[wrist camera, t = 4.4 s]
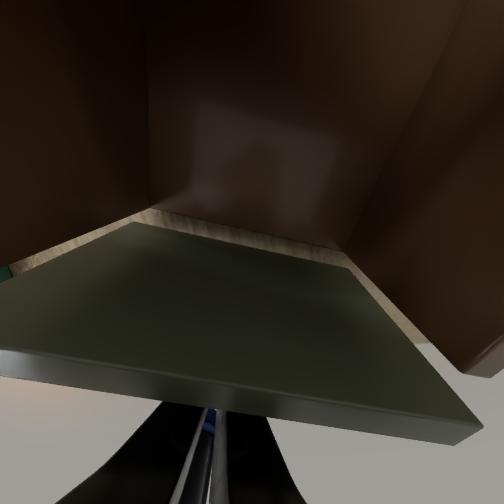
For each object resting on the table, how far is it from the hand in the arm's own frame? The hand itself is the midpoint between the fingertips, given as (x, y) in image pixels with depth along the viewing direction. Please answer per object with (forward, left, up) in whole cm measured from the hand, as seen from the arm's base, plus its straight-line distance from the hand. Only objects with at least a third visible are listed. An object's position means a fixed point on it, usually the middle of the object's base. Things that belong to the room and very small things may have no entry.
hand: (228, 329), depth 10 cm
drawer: (+4, -6, -4) cm, 8 cm away
